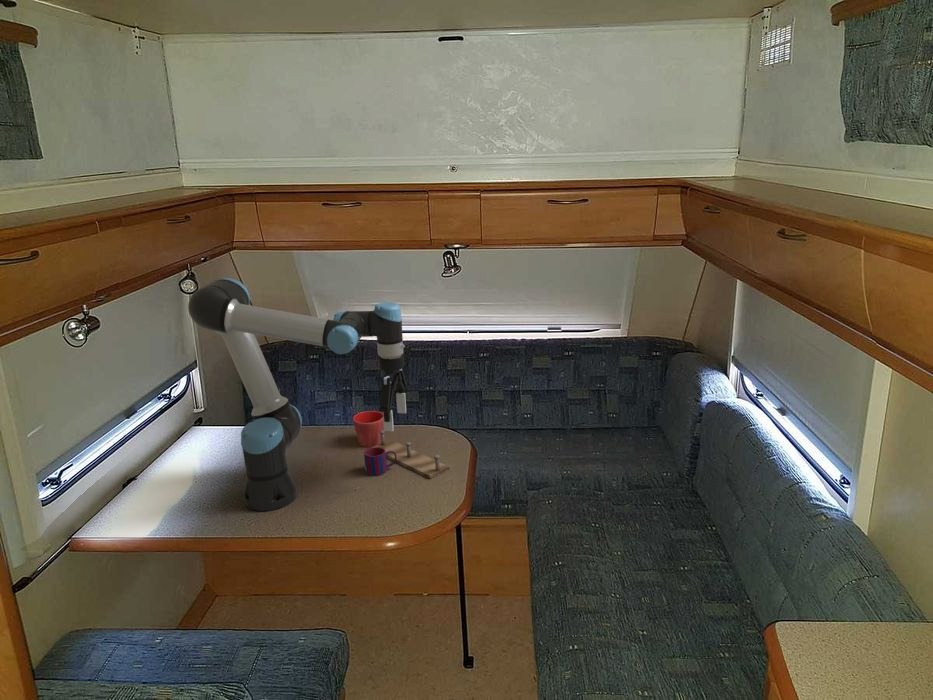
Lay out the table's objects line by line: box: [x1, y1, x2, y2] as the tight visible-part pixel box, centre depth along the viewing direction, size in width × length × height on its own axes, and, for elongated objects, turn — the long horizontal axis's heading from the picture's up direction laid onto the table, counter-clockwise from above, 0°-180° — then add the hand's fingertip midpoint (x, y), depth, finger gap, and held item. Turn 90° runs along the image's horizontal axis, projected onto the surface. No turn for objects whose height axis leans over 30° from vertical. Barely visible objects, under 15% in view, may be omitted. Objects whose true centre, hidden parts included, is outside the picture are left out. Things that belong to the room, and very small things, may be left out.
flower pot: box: [352, 410, 384, 448], centre depth 234 cm, size 11×11×10 cm
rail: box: [371, 429, 450, 480], centre depth 220 cm, size 30×8×6 cm, turn 44°
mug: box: [363, 446, 397, 477], centre depth 214 cm, size 7×10×7 cm
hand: (395, 421), depth 206 cm, fingers open, 13 cm apart
